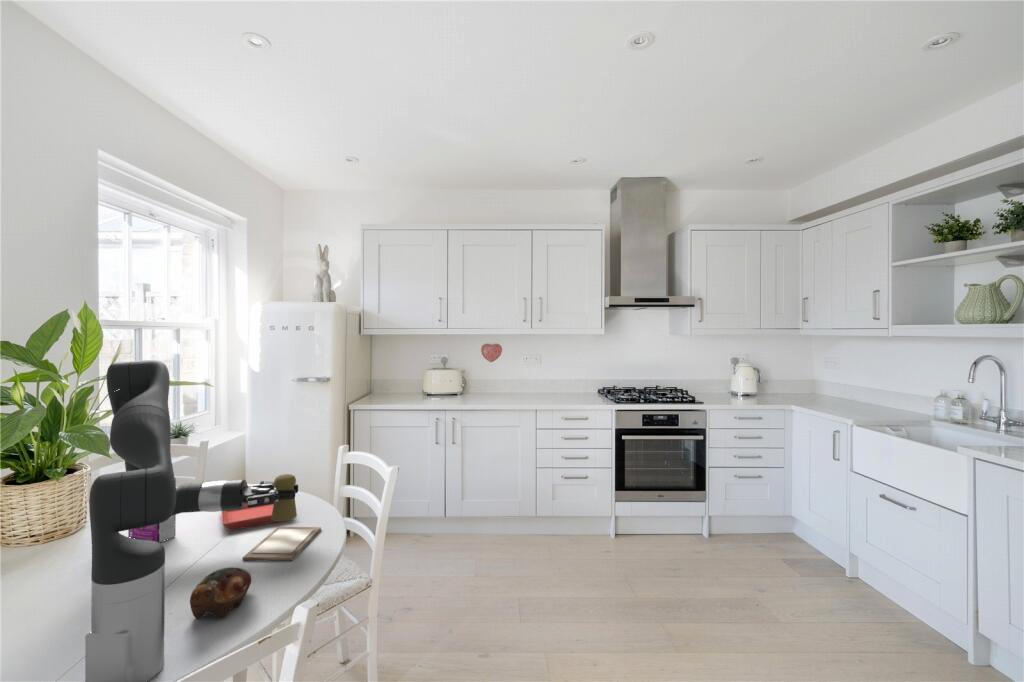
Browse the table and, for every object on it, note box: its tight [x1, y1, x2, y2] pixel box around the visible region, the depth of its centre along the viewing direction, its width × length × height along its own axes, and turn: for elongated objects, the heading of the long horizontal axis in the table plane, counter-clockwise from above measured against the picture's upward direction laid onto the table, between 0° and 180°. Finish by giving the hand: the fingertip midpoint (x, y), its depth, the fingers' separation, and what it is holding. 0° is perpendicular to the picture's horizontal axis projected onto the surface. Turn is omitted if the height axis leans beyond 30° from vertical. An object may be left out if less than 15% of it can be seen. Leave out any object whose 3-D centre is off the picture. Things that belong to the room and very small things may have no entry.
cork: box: [271, 473, 298, 522], centre depth 122 cm, size 6×6×11 cm
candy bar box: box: [127, 477, 177, 544], centre depth 125 cm, size 11×5×16 cm, turn 74°
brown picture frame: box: [242, 526, 322, 561], centre depth 122 cm, size 18×12×1 cm, turn 1°
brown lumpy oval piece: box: [189, 566, 252, 620], centre depth 93 cm, size 10×15×8 cm, turn 1°
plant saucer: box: [220, 503, 277, 531], centre depth 140 cm, size 18×18×3 cm
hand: (296, 491), depth 123 cm, fingers closed on cork, 4 cm apart
